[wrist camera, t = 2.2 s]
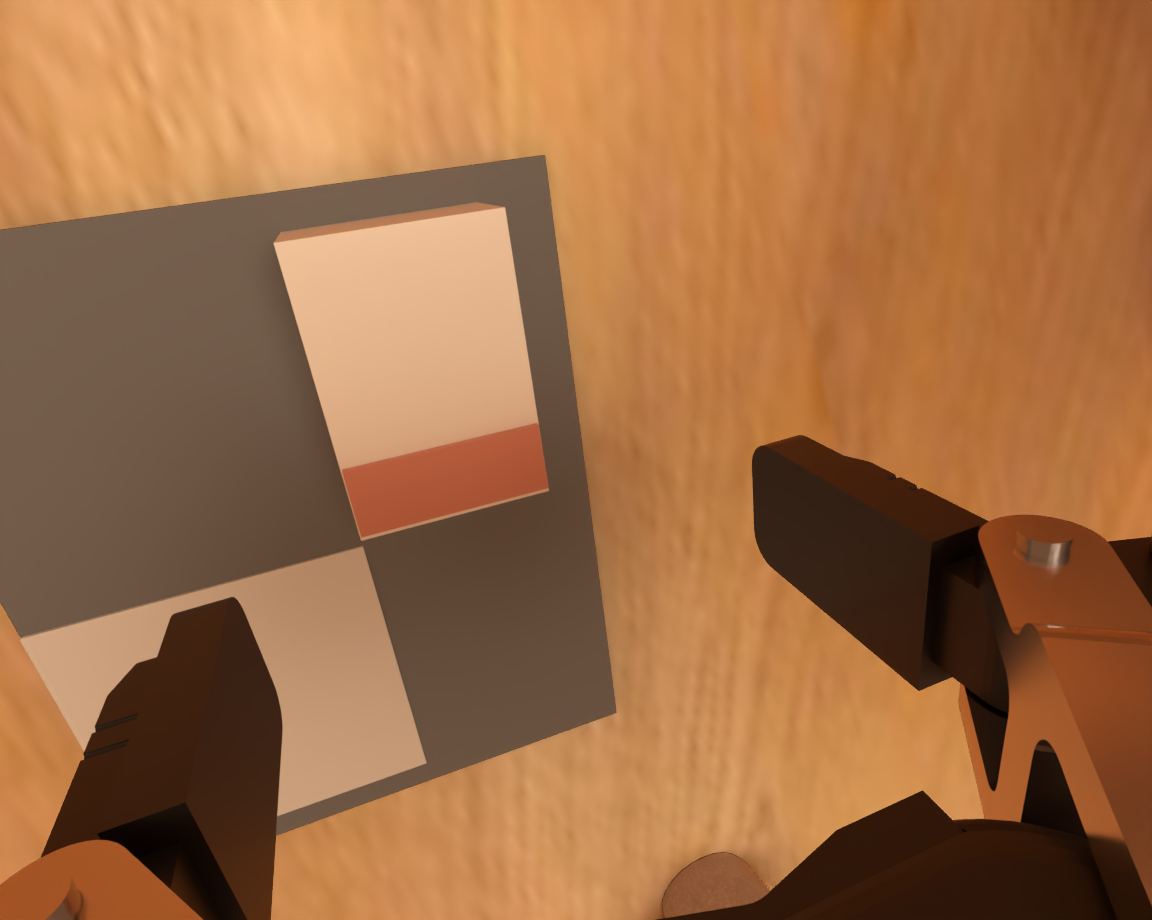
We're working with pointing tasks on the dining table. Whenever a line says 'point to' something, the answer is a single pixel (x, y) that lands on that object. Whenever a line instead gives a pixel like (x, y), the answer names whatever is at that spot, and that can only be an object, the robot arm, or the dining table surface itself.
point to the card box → (418, 361)
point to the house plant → (712, 886)
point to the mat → (281, 494)
